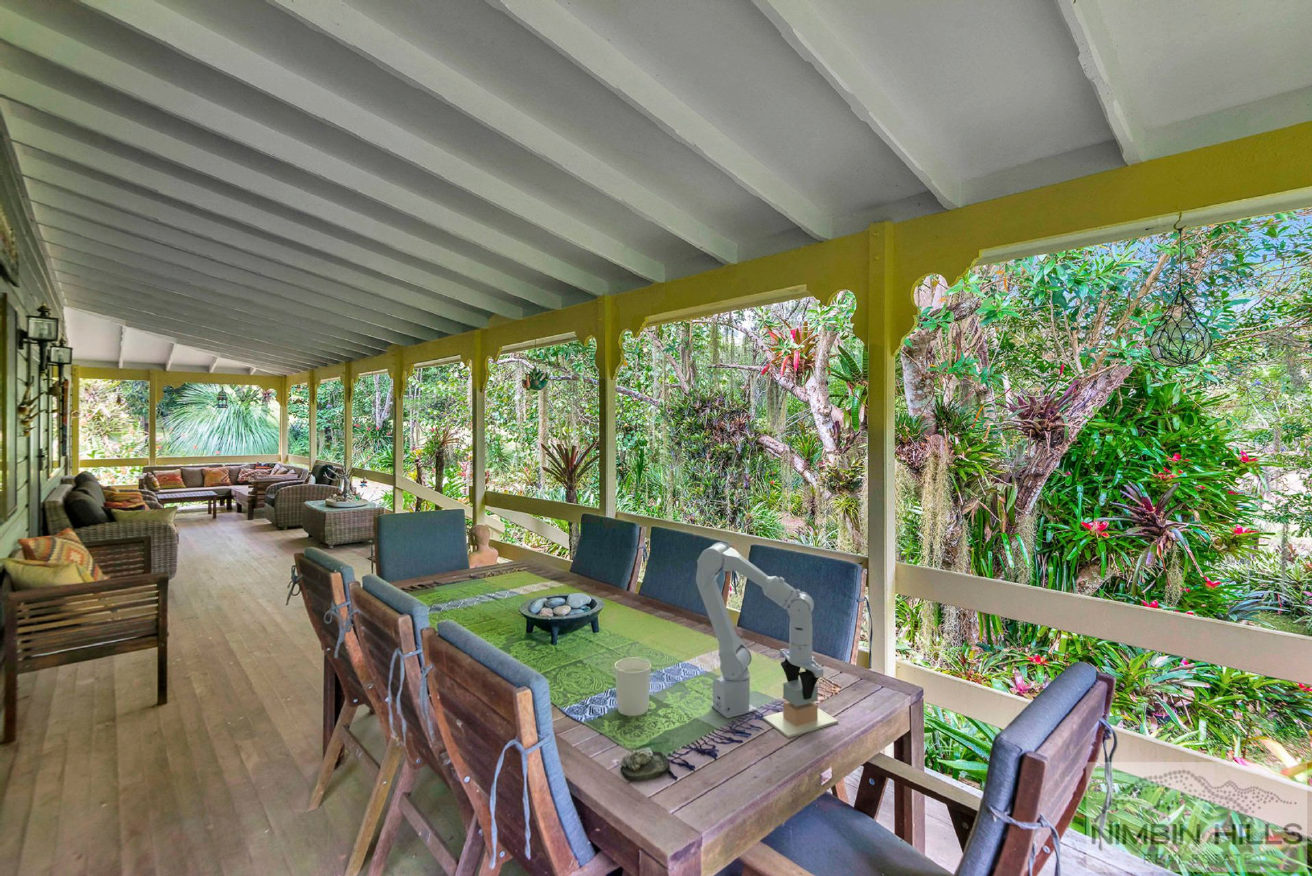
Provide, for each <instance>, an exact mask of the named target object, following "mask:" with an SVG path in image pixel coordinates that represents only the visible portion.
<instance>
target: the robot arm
mask: <svg viewBox="0 0 1312 876" xmlns="http://www.w3.org/2000/svg"><path fill="white" fill-rule="evenodd" d="M696 562H697V568H696V575H695V576H696V577H695V583H696V586H697V589H698V591H699V594H700V597H701V599H702V601H703V605H704V606H705V609H706V611H707V616H708V618H709V622H711V623H710V624H711V626H712V628H713V631H714V634H715V636H716V639H717V641H718V645H719V646H718V657H719V659H720V662H719V663H720V665H719V666H720V672H721V676H719V677H718V678H716V679H714V680H713V682H712V703H711V707H712V708H713V709H714V710H716V711H717V712H718V713H719V714H721V715H722V716H723V717H725V718H726V719H731V718H735V717H738V716H742V715H745V714H749V713H753V712H757V708H756V707H755V706H753V705H752V704H750V703H751V702H750V700H751V699H750V698H751V697H750V692H751V691H750V686H751V684H750V677H751V675H750V671H749V669H748V666H750V664H751V663H752V653H751V652H750V650H749V648H748V647H746V645H745V644H744V641H743V639H742V638H741V637H740V636H738V634H737V632H736V629H735V627H734V624H733V621H732V619H731V616H730V613H729V611H728V608H727V606H726V602H725V601H724V597H723V594H722V591H721V590H720V587H719V585H718V584H719V583H718V582H717V580H718V578H719V576H720V573H721V572H737V573H738V574H740V575H741V576H743V577H745V578H746V579H748V580H749V581H751V582H753V583H754V584H756V585H758V586H760V588H762V589H761V590H762V592H763V595H764V596H765V597H767V598H769V599H770V600H771V601H773V602H774V603H776V604H777V605H778V606H780V607H781V608H783V609H784V610H786V611H787V615H788V616H789V617H790V618H789V632H788V633H789V636H788V637H789V643H788V645H789V648H786V647H785V648H780V649H779V657H780V658H782V659H785V660H784V661H781V662H780V666H781V668H782V669H783V672H784V674H785V678H786V680H787V681H786V682H789V681H793V680H797V679H801V683H802V691H803V698H804V699H805V700H807V699H811V697H812V694H813V690H814V687H815V685H817V682H818V681H819V679H820V678H822V677H824V668H823V667H821V666H820V665H819V664H818V663H817V662H816V661H815V659H816V658H815V656H813V623H812V622H813V614H812V612H813V610H814V607H815V603H814V599H813V598H812V597H811V595H809V593H808V592H805V591H801V590H800V589H799V588H797V589H796V588H794V587H793V586H791V585H790V584H788V583H787V582H786V581H785V580H786V579H785V578H784V577H782V576H780V577H778V576H777V575H771V576H769V575H768V574H766V573H765V572H764V571H762V570H761V569H760V568H758V567H757V566H756V565H754V564H753V563H751V562H750V561H749V560H748V559H747V558H746V557H744V556H743V555H742V554H740V553H739V552H738V551H737V550H736V549H735V548H734V547H730V546H729V545H728V544H726V543H725V542H722V541H719V542H714V543H713V544H712V545H711V546H710V547H708V548H705V549H704V550H702V552H701V553H700V555H699V556H698V558H697V560H696ZM801 668H802V669H804V671H801Z"/></svg>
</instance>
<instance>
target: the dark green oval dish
mask: <svg viewBox="0 0 1312 876" xmlns="http://www.w3.org/2000/svg"><path fill="white" fill-rule="evenodd" d="M670 769H671V765H670V761H669V760H668V759H667V758H666V757H665V756H664V755H663V753H662V752H661V751H657V750H655V751H654V750H652V749H651V747H648V746H647V747H641V748H640V749H636V750H635V749H634V750H633V751H632V752H631V753H627V754H626V755H624V756H623V757H622V758H621V760H620V772H621V775H622V776H623V778H625V779H626V780H627V781H628V782H630V783H631V782H633V783H634V782H638V783H639V782H646V781H650V780H656V779H659V778H661V777H664V776H665V775H666V774H667V773H668V772H670Z"/></svg>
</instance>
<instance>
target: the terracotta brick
mask: <svg viewBox="0 0 1312 876" xmlns="http://www.w3.org/2000/svg"><path fill="white" fill-rule="evenodd" d="M782 702H783V704H782V706H783V707H782V710H783V718H785V719H786V720H788V721H789V722H790V723H792V724H793V725H795V726H799V725H803V724H806V723H809V722H813V721H816V720H818V708H819V707H818V706H819V705H818V703H816V702H812V703H808V704H804V705H801V706H797V707H796V706H794V705H793V704H791V703H790V702H788V701H787V700H785V701H782Z"/></svg>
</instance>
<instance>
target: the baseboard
mask: <svg viewBox="0 0 1312 876" xmlns="http://www.w3.org/2000/svg"><path fill="white" fill-rule="evenodd" d="M762 720H763V721H765V722H766V723H768V724H769V725H770V726H772V728H774V729H775V730H777V731H778V732H780V733H781V734H782V735H783V736H785V737H786V738H788V739H790V738H793V737H797V736H798V735H802V734H807V733H809V732H812V731H815V730H818V729H823V728H826V727H829V726H832V725H836V724H838V723H839V720H838V719H837V718H835V717H833V716H832V715H830V714H828V713H827V712H825V711H824V710H822V709H821V708H819V707H818V720H816V721H813V722H809V723H806V724H803V725H799V726H795V725H793V724H792V723H790V722H789V721H788V720H786V719H785V718H783V711H780V712H776V713H772V714H769V715H765V716H762Z"/></svg>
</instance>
